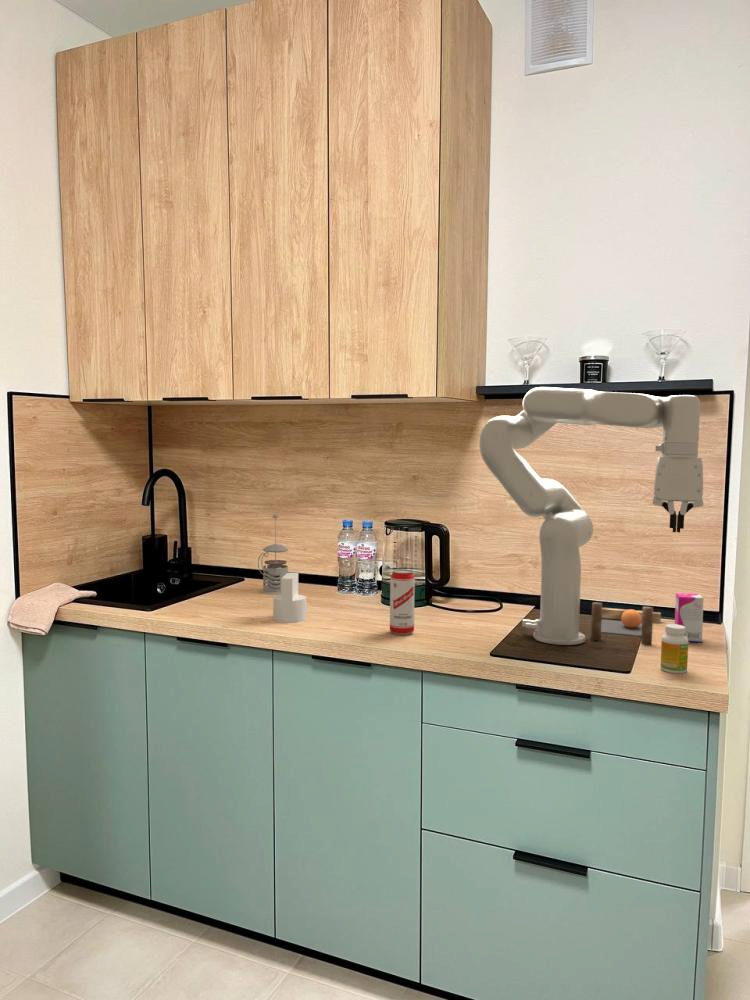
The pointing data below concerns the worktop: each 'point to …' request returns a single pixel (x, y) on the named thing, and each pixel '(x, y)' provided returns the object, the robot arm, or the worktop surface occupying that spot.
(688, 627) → the supplement box
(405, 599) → the beer can
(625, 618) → the ball
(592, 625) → the left post
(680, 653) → the supplement bottle
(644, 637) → the right post
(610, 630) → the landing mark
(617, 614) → the wooden bar
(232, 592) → the worktop surface
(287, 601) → the base with upright slab
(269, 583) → the french press
